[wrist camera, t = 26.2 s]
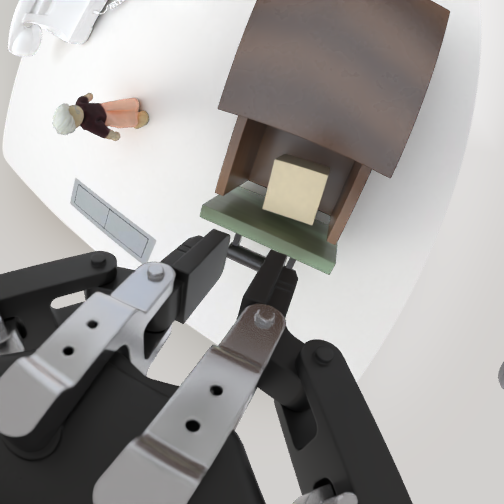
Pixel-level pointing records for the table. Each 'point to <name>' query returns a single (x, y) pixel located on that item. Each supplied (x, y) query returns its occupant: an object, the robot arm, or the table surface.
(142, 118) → the grandmother figurine
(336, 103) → the cabinet
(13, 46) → the telephone
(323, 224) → the drawer
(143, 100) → the table surface
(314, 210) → the block
